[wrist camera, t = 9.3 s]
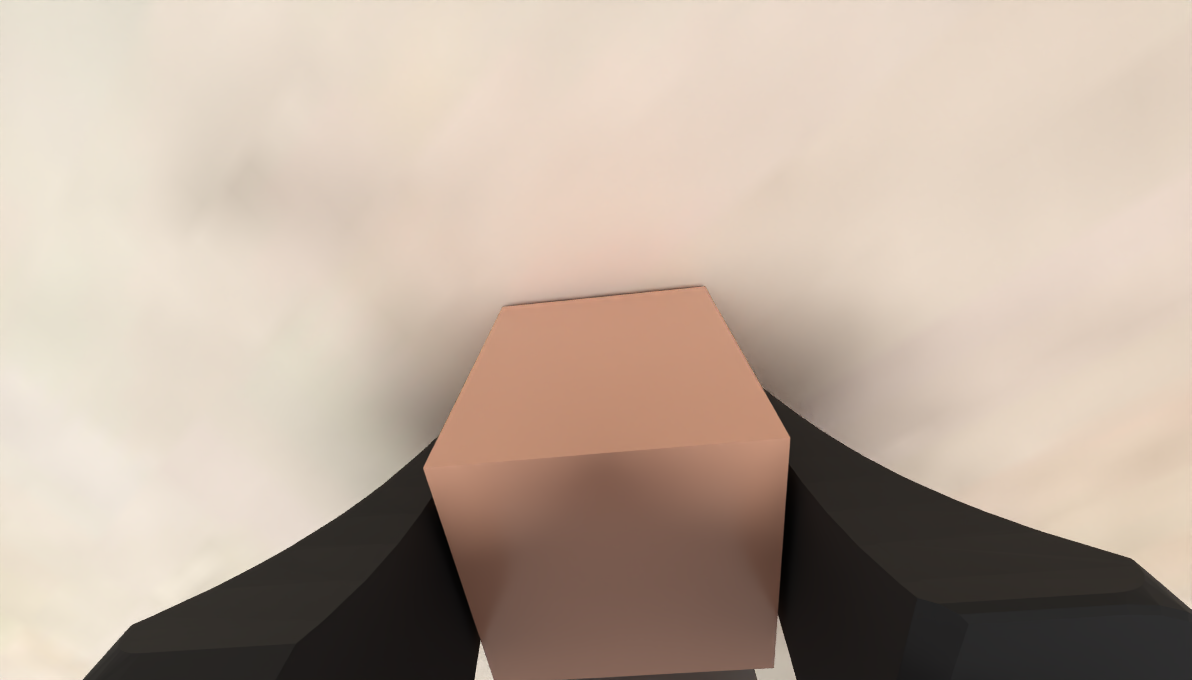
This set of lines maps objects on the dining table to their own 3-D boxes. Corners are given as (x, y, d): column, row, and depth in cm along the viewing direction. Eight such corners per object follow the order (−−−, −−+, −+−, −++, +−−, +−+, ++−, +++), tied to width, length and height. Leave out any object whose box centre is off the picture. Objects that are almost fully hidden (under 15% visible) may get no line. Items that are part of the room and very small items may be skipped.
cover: (707, 451, 14) (774, 667, 9) (535, 465, 14) (495, 683, 9) (705, 286, 12) (790, 437, 7) (502, 307, 12) (423, 467, 7)
